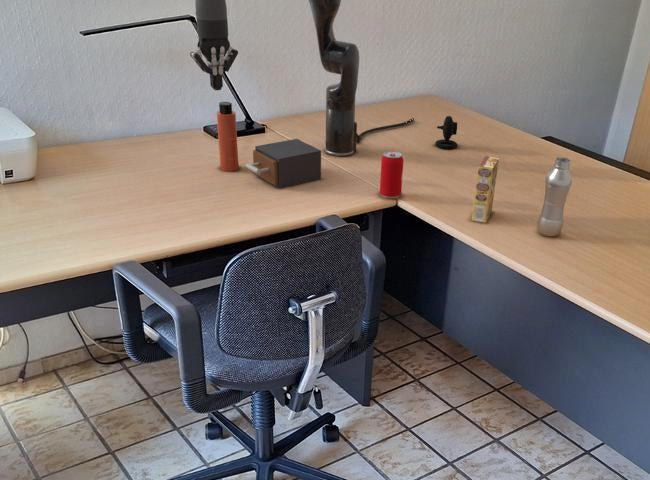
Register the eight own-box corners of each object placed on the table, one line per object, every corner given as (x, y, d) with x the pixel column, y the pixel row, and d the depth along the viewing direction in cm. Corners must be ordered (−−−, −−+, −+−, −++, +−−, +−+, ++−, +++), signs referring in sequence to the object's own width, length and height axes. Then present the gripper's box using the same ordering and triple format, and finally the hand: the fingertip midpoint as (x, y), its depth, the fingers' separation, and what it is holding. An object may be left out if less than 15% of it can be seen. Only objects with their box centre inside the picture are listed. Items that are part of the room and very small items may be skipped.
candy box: (485, 223, 195) (494, 168, 186) (470, 220, 196) (478, 165, 187) (491, 212, 202) (500, 157, 193) (477, 209, 203) (484, 155, 194)
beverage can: (401, 192, 210) (404, 151, 203) (400, 200, 205) (403, 158, 198) (380, 190, 210) (382, 149, 203) (378, 198, 205) (380, 156, 198)
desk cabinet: (279, 188, 207) (278, 158, 202) (256, 175, 214) (255, 146, 209) (321, 179, 215) (321, 150, 209) (297, 166, 222) (297, 138, 217)
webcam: (457, 150, 244) (461, 120, 238) (435, 149, 244) (438, 118, 238) (456, 143, 251) (459, 113, 245) (434, 141, 250) (437, 112, 245)
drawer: (262, 188, 204) (261, 164, 200) (241, 175, 210) (240, 152, 206) (313, 177, 213) (313, 154, 209) (292, 165, 220) (291, 143, 216)
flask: (233, 164, 220) (228, 99, 209) (242, 169, 217) (238, 104, 206) (217, 167, 218) (212, 102, 206) (226, 172, 214) (221, 106, 203)
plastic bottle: (555, 241, 188) (571, 166, 176) (531, 234, 191) (545, 159, 179) (564, 233, 193) (580, 159, 181) (540, 226, 195) (555, 153, 184)
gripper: (194, 20, 172) (201, 96, 182) (243, 17, 179) (246, 90, 189) (179, 15, 176) (187, 89, 186) (227, 12, 184) (232, 83, 194)
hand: (217, 89), depth 188 cm, fingers closed
